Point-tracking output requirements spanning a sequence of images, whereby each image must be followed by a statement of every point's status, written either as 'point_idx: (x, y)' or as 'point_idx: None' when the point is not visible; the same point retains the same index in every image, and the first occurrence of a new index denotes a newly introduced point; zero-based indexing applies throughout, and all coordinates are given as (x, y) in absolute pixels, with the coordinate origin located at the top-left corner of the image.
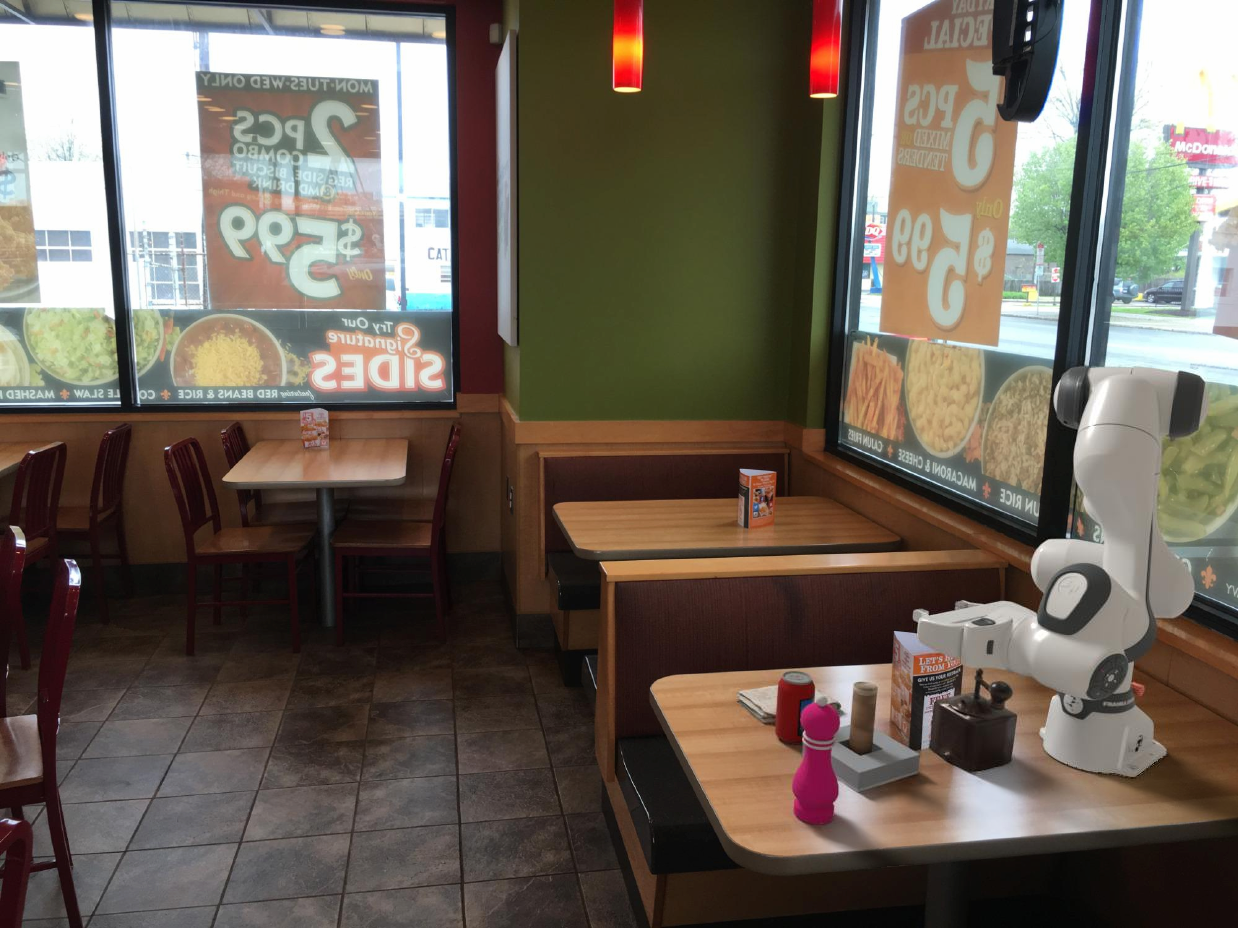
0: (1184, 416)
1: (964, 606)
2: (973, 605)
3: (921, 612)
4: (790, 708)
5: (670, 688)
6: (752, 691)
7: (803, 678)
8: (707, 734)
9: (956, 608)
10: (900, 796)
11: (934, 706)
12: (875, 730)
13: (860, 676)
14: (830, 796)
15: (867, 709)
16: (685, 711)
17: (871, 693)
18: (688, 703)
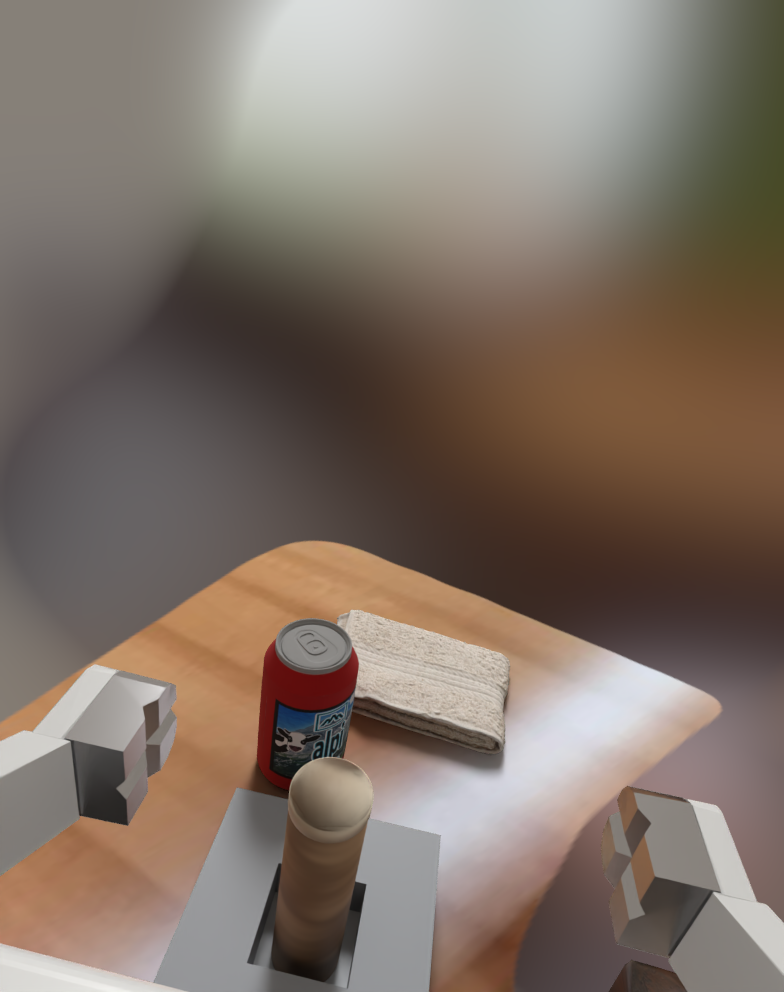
0: None
1: (650, 893)
2: (758, 961)
3: (39, 724)
4: (262, 704)
5: (294, 552)
6: (371, 621)
7: (324, 655)
8: (180, 655)
9: (609, 835)
10: None
11: (621, 978)
12: (429, 892)
13: (654, 702)
14: None
15: (298, 865)
16: (237, 596)
17: (311, 833)
18: (269, 587)
